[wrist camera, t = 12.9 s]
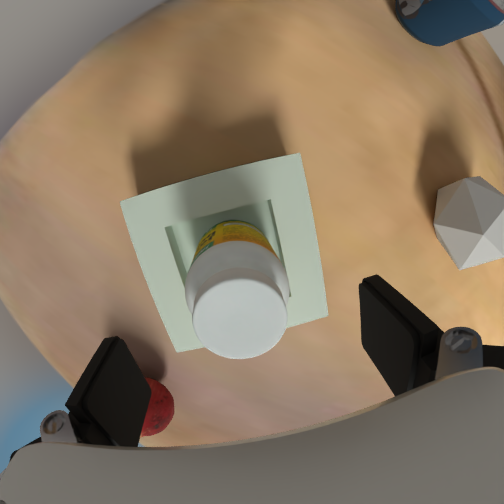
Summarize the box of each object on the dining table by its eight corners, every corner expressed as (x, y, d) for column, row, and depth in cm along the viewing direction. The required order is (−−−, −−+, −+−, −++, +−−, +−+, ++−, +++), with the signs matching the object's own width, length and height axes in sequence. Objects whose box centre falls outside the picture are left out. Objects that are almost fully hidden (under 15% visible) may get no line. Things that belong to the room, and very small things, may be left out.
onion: (176, 364, 25) (164, 425, 18) (180, 401, 27) (172, 458, 19) (121, 357, 25) (97, 412, 17) (130, 395, 26) (113, 448, 19)
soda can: (449, 42, 17) (523, 18, 6) (418, 56, 18) (504, 24, 7) (413, -7, 15) (476, -46, 4) (377, 2, 16) (445, -52, 5)
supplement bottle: (256, 295, 21) (276, 380, 12) (189, 276, 21) (165, 356, 11) (280, 229, 20) (323, 282, 11) (208, 207, 19) (192, 245, 10)
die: (400, 228, 24) (465, 303, 18) (438, 151, 18) (524, 230, 12) (436, 215, 27) (490, 274, 21) (468, 154, 21) (533, 214, 15)
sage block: (286, 155, 20) (299, 152, 17) (313, 293, 24) (328, 315, 20) (137, 195, 20) (119, 201, 17) (183, 325, 24) (176, 352, 20)
